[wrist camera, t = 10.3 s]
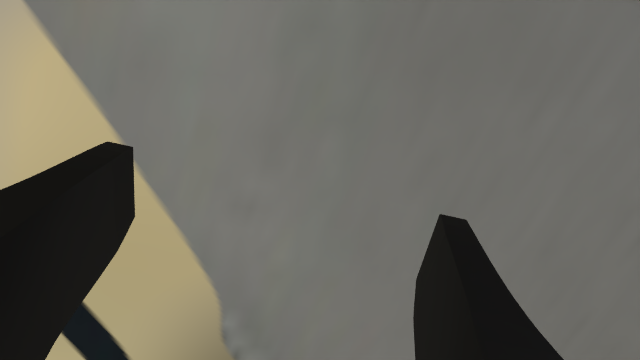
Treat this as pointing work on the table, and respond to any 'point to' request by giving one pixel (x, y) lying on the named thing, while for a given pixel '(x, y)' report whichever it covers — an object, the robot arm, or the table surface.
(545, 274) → the table surface
